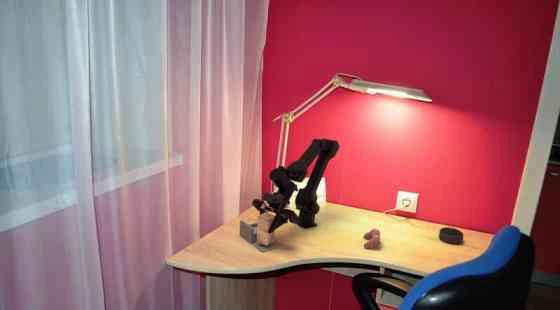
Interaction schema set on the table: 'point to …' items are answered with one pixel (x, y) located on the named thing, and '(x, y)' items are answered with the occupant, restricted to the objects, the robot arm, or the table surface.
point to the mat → (264, 246)
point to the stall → (248, 231)
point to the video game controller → (372, 238)
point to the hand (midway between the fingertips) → (263, 231)
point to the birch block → (265, 229)
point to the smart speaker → (451, 235)
